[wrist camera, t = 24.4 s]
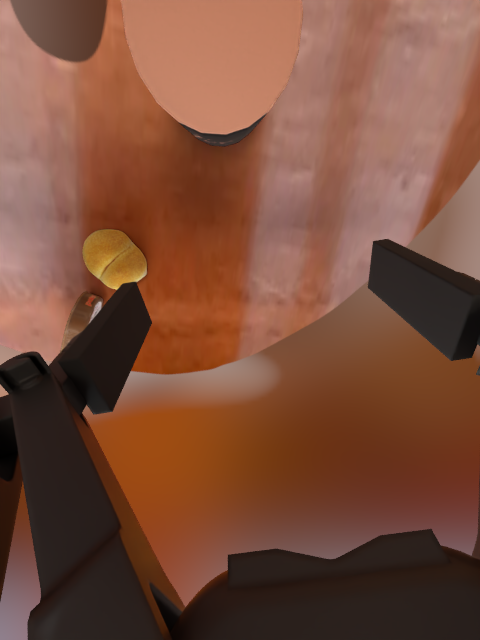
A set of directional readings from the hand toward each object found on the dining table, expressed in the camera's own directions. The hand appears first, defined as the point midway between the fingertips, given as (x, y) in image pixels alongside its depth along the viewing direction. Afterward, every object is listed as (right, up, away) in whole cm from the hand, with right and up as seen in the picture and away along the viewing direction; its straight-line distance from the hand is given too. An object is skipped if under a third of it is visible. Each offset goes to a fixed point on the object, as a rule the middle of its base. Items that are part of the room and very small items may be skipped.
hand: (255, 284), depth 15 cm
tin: (-27, -2, +31) cm, 41 cm away
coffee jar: (-3, +25, +16) cm, 30 cm away
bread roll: (-20, +8, +26) cm, 33 cm away
